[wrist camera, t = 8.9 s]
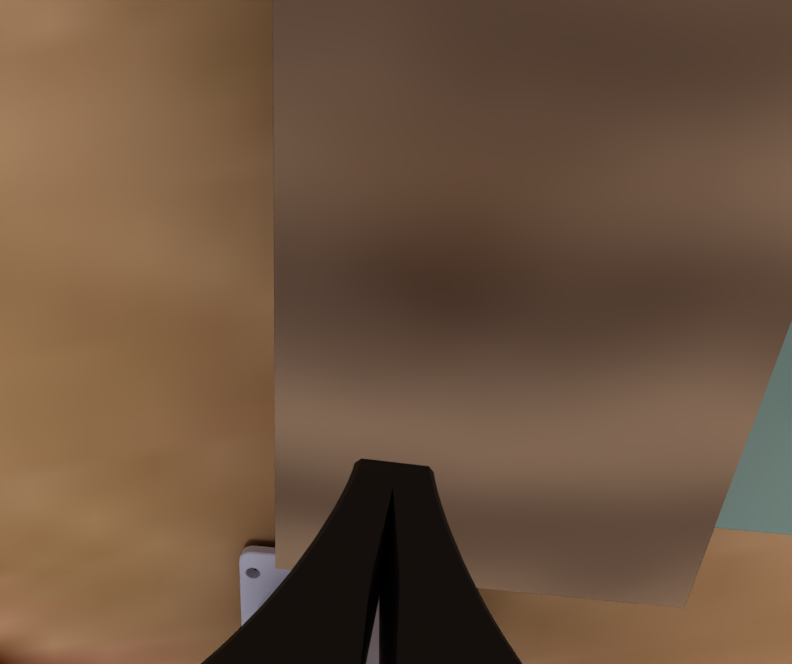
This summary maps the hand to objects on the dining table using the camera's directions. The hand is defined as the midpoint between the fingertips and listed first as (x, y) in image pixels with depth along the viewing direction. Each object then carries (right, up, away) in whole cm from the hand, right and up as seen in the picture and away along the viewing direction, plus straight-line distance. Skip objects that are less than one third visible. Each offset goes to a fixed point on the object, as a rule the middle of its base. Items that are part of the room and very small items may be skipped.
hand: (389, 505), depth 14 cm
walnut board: (+3, +5, +7) cm, 10 cm away
